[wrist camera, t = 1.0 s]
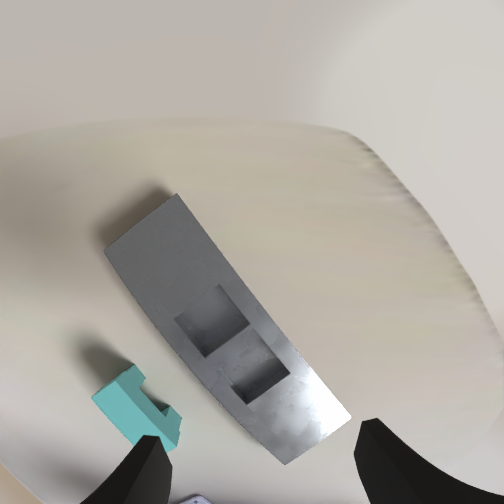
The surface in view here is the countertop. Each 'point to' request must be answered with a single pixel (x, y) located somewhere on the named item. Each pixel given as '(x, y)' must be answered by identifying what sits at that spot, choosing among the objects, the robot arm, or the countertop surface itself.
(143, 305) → the rail
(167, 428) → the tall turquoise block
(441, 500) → the robot arm
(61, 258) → the countertop surface
